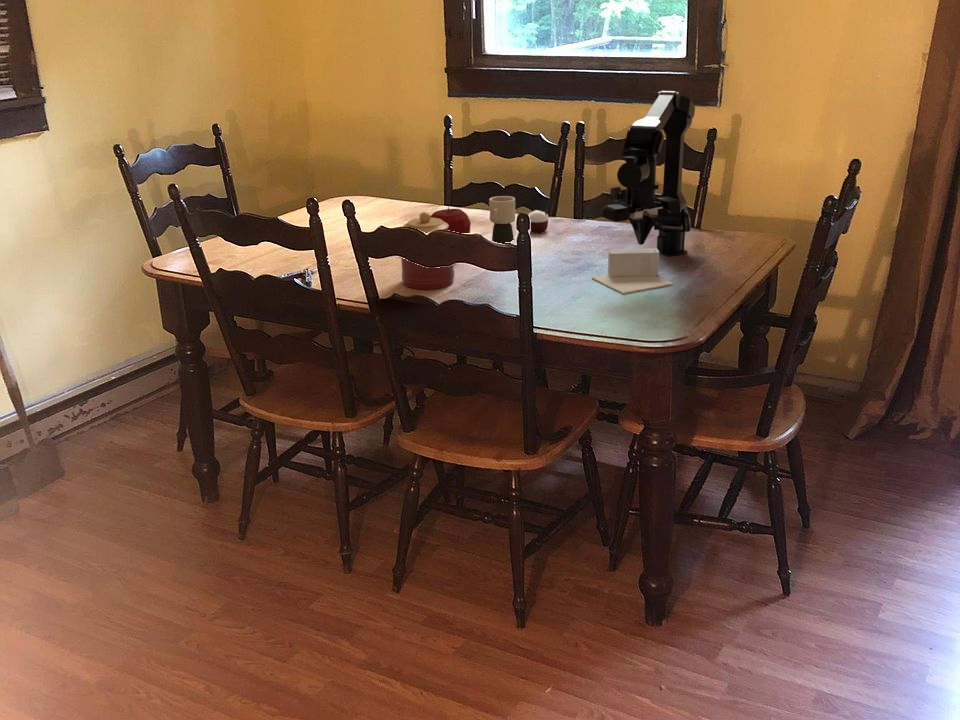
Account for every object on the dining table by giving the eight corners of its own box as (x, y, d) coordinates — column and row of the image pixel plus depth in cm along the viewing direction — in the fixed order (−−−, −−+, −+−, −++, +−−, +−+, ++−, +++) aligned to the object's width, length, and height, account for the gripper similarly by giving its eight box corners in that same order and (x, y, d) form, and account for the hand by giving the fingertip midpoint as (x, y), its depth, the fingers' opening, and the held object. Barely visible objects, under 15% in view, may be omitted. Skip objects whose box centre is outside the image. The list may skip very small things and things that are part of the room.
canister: (465, 281, 231) (462, 211, 224) (426, 294, 223) (422, 221, 216) (430, 271, 240) (426, 203, 233) (391, 283, 231) (386, 213, 225)
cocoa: (520, 234, 272) (517, 193, 267) (529, 228, 277) (526, 188, 272) (550, 236, 268) (547, 194, 263) (559, 230, 273) (556, 189, 268)
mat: (639, 270, 235) (639, 268, 235) (672, 284, 223) (672, 283, 223) (591, 278, 230) (591, 277, 230) (623, 294, 218) (623, 292, 218)
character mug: (498, 238, 267) (497, 193, 262) (522, 240, 264) (521, 195, 259) (483, 248, 257) (482, 202, 252) (507, 251, 255) (506, 204, 250)
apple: (454, 246, 260) (452, 199, 255) (480, 255, 252) (479, 206, 247) (419, 255, 253) (416, 207, 248) (444, 264, 245) (442, 214, 240)
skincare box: (657, 247, 231) (608, 247, 231) (660, 252, 226) (610, 252, 227) (655, 271, 233) (607, 271, 233) (658, 277, 229) (609, 277, 229)
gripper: (656, 169, 228) (653, 231, 234) (590, 178, 221) (589, 242, 227) (684, 177, 219) (680, 241, 225) (616, 186, 212) (614, 253, 218)
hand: (640, 244), depth 224 cm, fingers closed
